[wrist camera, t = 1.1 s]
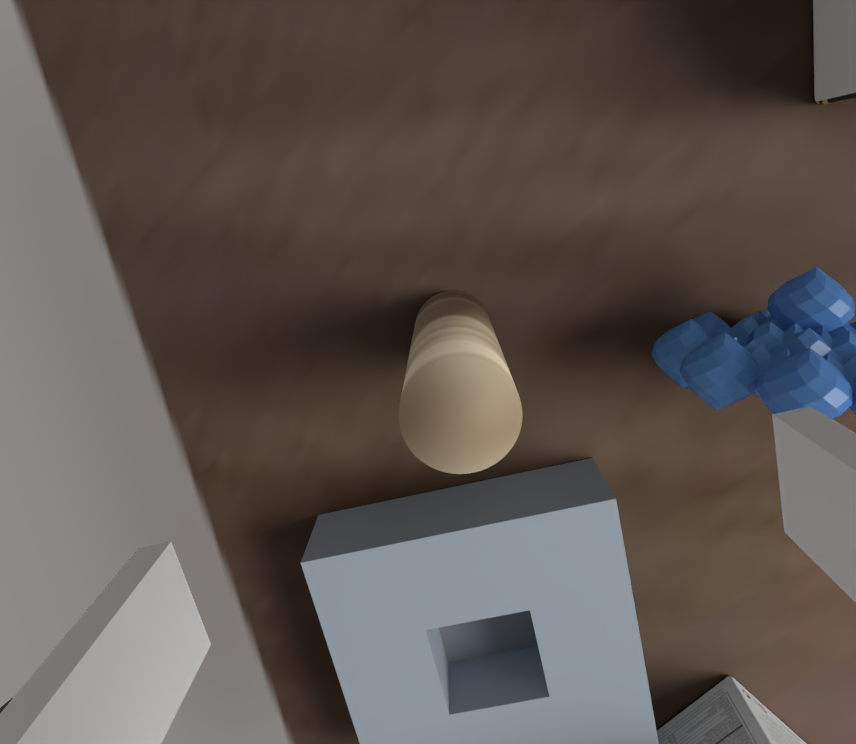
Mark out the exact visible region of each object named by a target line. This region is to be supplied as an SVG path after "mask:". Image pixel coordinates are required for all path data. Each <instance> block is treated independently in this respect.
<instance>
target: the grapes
mask: <svg viewBox="0 0 856 744" xmlns="http://www.w3.org/2000/svg"><path fill="white" fill-rule="evenodd" d="M767 308H768V310H769V312H770V313H769V312H768V311H767V310H766V311H763V312H760V311H759V312H757V313H755V314H753V315H751V316H749V317H746V318H745V319H743V320H741V321H739V322H738V323H737V324H735V325H734V326H733V327H730V326H729V325H728V324H727V323H725V322H724V321H723V320H722V319H720V318H719V317H718V316H717V315H715V314H714V313H713V312H711V311H708V312H706V313H704V314H702V315H700V316H698V317H696V318H694V319H690V320H688V321H686V322H684V323H682V324H680V325H678V326H676V327H674V328H672V329H670V330H668V331H667V332H665V333H664V334H663V335H662V336H661V337H659V338H658V339H657V340H656V342H655V343H654V345H653V349H652V353H651V355H652V357H653V358H654V360H655V362H656V364H657V365H658V367H659V368H660V369H661V370H662V371H663V372H664V373H665V374H666V375H667V376H668V377H669V378H671V379H672V380H673V381H674V382H675V383H677V384H678V385H679V386H681V387H682V388H686V387H688V386H689V388H690V389H691V390H692V391H693V392H694V393H695V394H696V395H698V396H699V397H700V398H701V399H702V400H703V401H704V402H706V403H707V404H708V405H710V406H711V407H712V408H714V409H715V410H716V409H719V408H722V407H725V406H728V405H730V404H733V403H735V402H738V401H740V400H742V399H745V398H746V397H747V396H748V395H750V394H751V393H754V394H755V395H756V396H758V397H761V398H762V400H763V401H764V403H765V404H766V406H767V407H768V409H769V410H770V411H771V412H772V413H774V414H777V413H781V412H786V411H791V410H796V409H800V408H805V407H812V408H814V409H816V410H817V411H819V412H821V413H822V414H824V415H826V416H827V417H829V418H831V419H834V418H836V417H838V416H840V415H841V414H842V413H843V412H844V411H846V410H847V409H848V408H849V407H850V408H851V409H852V411H853V412H854V413H855V415H856V322H854V323H852V324H851V323H849V322H848V321H849V320H851V319H852V318H853V317H854V314H855V304H854V302H853V299H852V297H851V296H850V295H849V293H848V292H847V291H846V290H845V289H844V288H843V287H842V286H841V285H840V284H839V283H837V282H836V281H835V280H834V279H832V278H831V277H830V276H828V275H827V274H825V273H824V272H823V271H821V270H820V269H819V268H817V267H816V268H814V269H812V270H810V271H808V272H806V273H804V274H802V275H800V276H798V277H796V278H794V279H792V280H790V281H788V282H786V283H784V284H783V285H782V286H781V287H780V288H778V289H777V290H776V291H775V292H774V293H773V294H772V295H771V296H770V297H769V300H768V307H767Z"/></svg>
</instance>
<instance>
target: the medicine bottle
mask: <svg viewBox="0 0 856 744" xmlns="http://www.w3.org/2000/svg"><path fill="white" fill-rule="evenodd" d="M813 36H814V98H815V102H817V103H818V104H823V105H824V104H829V103H835V102H840V101H846V100H851V99H856V0H813Z"/></svg>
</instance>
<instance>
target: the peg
mask: <svg viewBox="0 0 856 744" xmlns="http://www.w3.org/2000/svg"><path fill="white" fill-rule="evenodd" d="M399 425H400V430H401V433H402V436H403V439H404V441H405V443H406V445H407V446H408V448H409V449H410V450H411V452H412V453H413V454H414V455H415V456H416V457H417V458H418V459H419V460H421V461H422V462H423V463H425V464H426V465H428V466H430V467H432V468H434V469H436V470H439V471H442V472H446V473H452V474H468V473H474V472H478V471H481V470H484V469H486V468H489V467H490V466H492V465H494V464H496V463H497V462H498V461H500V460H501V459H502V458H503V457H504V456H505V455H506V454H507V453H508V452H509V451H510V450H511V448H512V447H513V445H514V444H515V442H516V440H517V438H518V436H519V433H520V429H521V425H522V406H521V401H520V398H519V395H518V392H517V390H516V387H515V384H514V382H513V379H512V377H511V374H510V371H509V369H508V366H507V363H506V361H505V358H504V356H503V353H502V350H501V348H500V345H499V343H498V340H497V337H496V335H495V332H494V330H493V327H492V324H491V322H490V319H489V317H488V314H487V312H486V310H485V308H484V307H483V305H482V304H481V303H480V302H479V301H478V300H477V299H476V298H474V297H473V296H471V295H469V294H467V293H464V292H461V291H445V292H441V293H438V294H436V295H434V296H432V297H431V298H429V299H428V300H427V301H426V302H425V303H424V304H423V305H422V307H421V308H420V310H419V312H418V314H417V317H416V321H415V326H414V331H413V337H412V342H411V347H410V353H409V358H408V363H407V369H406V374H405V379H404V385H403V390H402V395H401V401H400V406H399Z"/></svg>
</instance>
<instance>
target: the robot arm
mask: <svg viewBox="0 0 856 744" xmlns="http://www.w3.org/2000/svg"><path fill="white" fill-rule="evenodd" d="M772 417H773V427H774V436H775V446H776V456H777V466H778V475H779V485H780V495H781V504H782V514H783V524H784V532H785V533H786V534H787V535H788V536H789V537H790V538H791V539H792V540H793V541H794V542H795V543H796V544H797V545H798V546H799V547H800V548H801V549H802V550H803V551H804V552H805V553H806V554H807V555H808V556H809V557H810V558H811V559H812V560H813V561H814V562H815V563H816V564H817V565H818V566H819V567H820V568H821V569H822V570H823V571H824V572H825V573H826V574H827V575H828V576H829V577H830V578H832V579H833V580H834V581H835V582H836V583H837V584H838V585H839V586H840V587H841V588H842V589H843V590H844V591H845V592H846V593H847V594H848V595H849V596H850V597H851V598H852V599H853V600H854V601H855V602H856V433H855V432H853V431H851V430H850V429H848V428H846V427H845V426H843V425H841V424H839V423H838V422H836V421H834V420H833V419H831V418H829V417H827V416H826V415H824V414H822V413H821V412H819V411H817V410H816V409H814V408H812V407H805V408H800V409H796V410H791V411H786V412H781V413H777V414H772ZM210 645H211V643H210V641H209V638H208V636H207V633H206V631H205V628H204V625H203V623H202V621H201V618H200V615H199V612H198V610H197V608H196V605H195V602H194V600H193V597H192V594H191V592H190V589H189V587H188V584H187V582H186V579H185V576H184V574H183V571H182V569H181V566H180V564H179V561H178V558H177V556H176V553H175V550H174V548H173V545H172V543H171V542H167V543H162V544H158V545H153V546H148V547H143V548H139V549H138V550H137V551H136V552H135V553H134V555H133V556H132V557H131V558H130V559H129V561H128V562H127V563H126V564H125V565H124V567H123V568H122V569H121V570H120V571H119V572H118V574H117V575H116V576H115V577H114V578H113V580H112V581H111V582H110V583H109V584H108V586H107V587H106V588H105V589H104V590H103V592H102V593H101V594H100V595H99V596H98V598H97V599H96V600H95V601H94V603H92V605H91V606H90V607H89V608H88V609H87V611H86V612H85V613H84V614H83V615H82V617H81V618H80V619H79V620H78V622H77V623H76V624H75V625H74V626H73V627H72V629H71V630H70V631H69V632H68V633H67V634H66V636H65V637H64V638H63V639H62V640H61V642H60V643H59V644H58V645H57V647H56V648H55V649H54V650H53V651H52V652H51V654H50V655H49V656H48V657H47V658H46V660H45V661H44V662H43V663H42V664H41V665H40V667H39V668H38V669H37V670H36V671H35V673H34V674H33V675H32V676H31V678H30V679H29V680H28V681H27V682H26V684H25V685H24V686H23V687H22V688H21V689H20V691H19V692H18V693H17V694H16V695H15V696H14V698H12V699H11V700H9V701H8V702H7V703H6V704H4V705H3V706H2V707H1V708H0V744H161V743H162V741H163V739H164V737H165V735H166V733H167V731H168V729H169V727H170V725H171V723H172V721H173V719H174V717H175V715H176V713H177V711H178V709H179V707H180V705H181V703H182V701H183V699H184V697H185V695H186V693H187V691H188V689H189V687H190V685H191V683H192V681H193V679H194V677H195V675H196V673H197V671H198V669H199V667H200V665H201V663H202V661H203V659H204V657H205V655H206V653H207V651H208V649H209V647H210Z"/></svg>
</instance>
